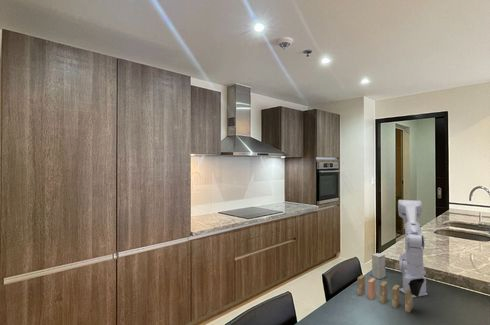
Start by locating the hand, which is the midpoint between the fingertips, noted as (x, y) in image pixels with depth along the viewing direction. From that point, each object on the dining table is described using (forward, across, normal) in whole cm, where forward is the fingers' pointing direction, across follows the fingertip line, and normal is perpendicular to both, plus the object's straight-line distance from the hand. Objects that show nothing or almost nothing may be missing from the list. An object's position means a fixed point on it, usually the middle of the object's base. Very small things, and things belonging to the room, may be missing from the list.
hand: (415, 295), depth 112 cm
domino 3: (+7, +3, -12) cm, 14 cm away
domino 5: (+7, 0, -2) cm, 7 cm away
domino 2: (+7, +4, -17) cm, 19 cm away
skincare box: (+7, -19, -28) cm, 34 cm away
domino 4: (+7, +2, -7) cm, 10 cm away
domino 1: (+7, +5, -22) cm, 23 cm away
